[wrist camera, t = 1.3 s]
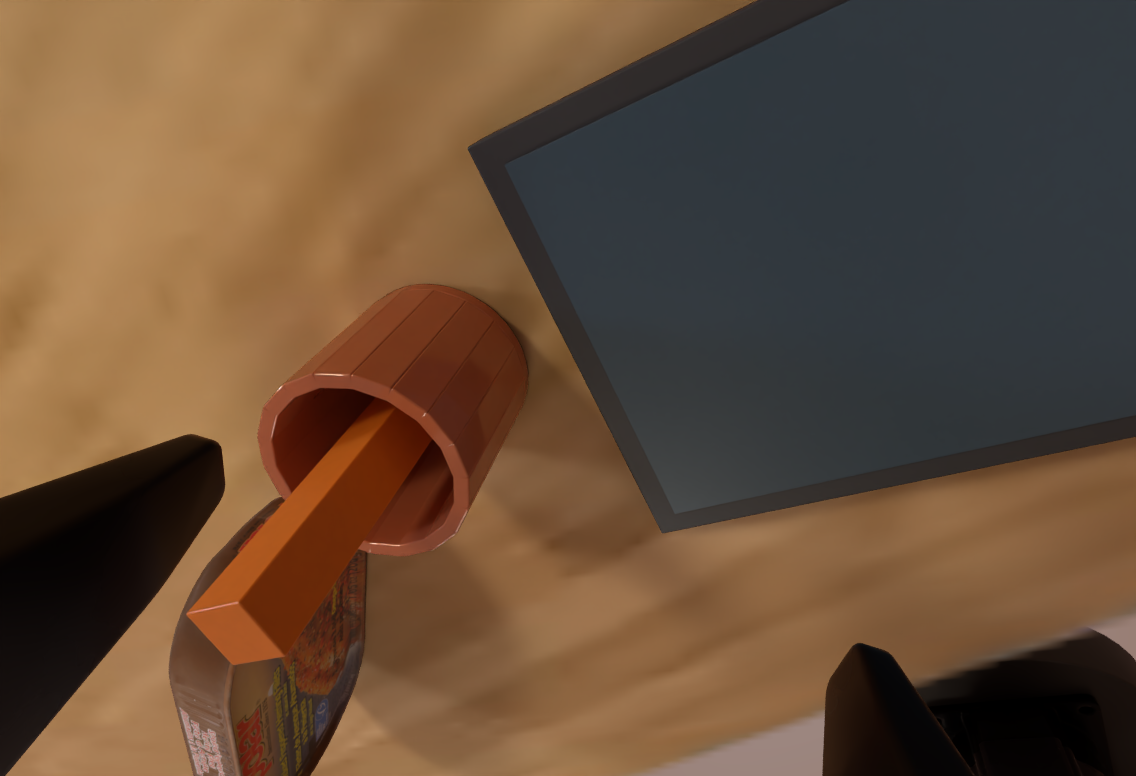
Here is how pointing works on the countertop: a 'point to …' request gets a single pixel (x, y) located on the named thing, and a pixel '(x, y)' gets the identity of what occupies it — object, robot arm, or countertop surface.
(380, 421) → the stylus
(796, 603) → the countertop surface
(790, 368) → the tablet
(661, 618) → the countertop surface
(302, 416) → the pen cup
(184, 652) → the tin
